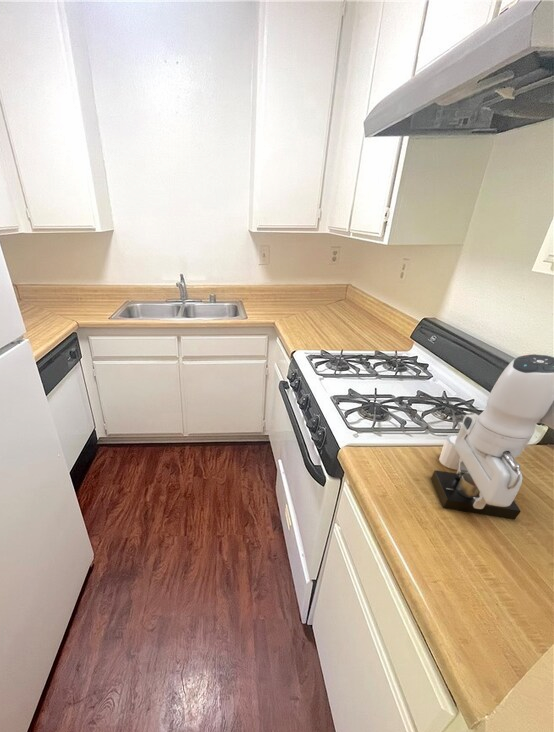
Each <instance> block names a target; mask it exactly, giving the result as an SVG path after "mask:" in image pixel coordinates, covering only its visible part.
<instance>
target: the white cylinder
mask: <svg viewBox="0 0 554 732" xmlns="http://www.w3.org/2000/svg"><path fill="white" fill-rule="evenodd" d="M457 435H458V433H457V434H456V433H451V434H447V436H445V440H444V443H443V445H442V449H441V452H440V455H439V459H438V461H439V462H440V464H441V465H443V466H444V467H446V468H448V469H451V470H456V471H458V469H459V459H460V456H459V454H458V452H457V450H456V449H455V441H456V438H457Z"/></svg>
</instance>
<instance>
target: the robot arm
mask: <svg viewBox="0 0 554 732" xmlns="http://www.w3.org/2000/svg"><path fill="white" fill-rule="evenodd" d="M494 383H495V384H494V385H493V387H492V389H491V391H490V392H489V395H488V396H487V401H486V405H485V408H484V410H483V411H481V412H480V414H479V415H478V414H465V415H464V417H463V419H462V425H461V427H460V429H459V430H458V433H457V434H458V435H457V438H456V441H455V449H456V450H457V452H458V454H459V456H460V459H459V469H458V470H456V472H455V473H456V474H457V476H458V478H460V479H461V478H462V476H463V474H466V473H470V475H471V477H472V479H473V480H474V482H475V484H476V486H477V487H478V489H479V491H480V494H479V495H480V497H479V498H478V497H474V498H473V501H471V503H472V505H473V507H474V508H476V509H483V508H484V506H485V505H486V504H489V505H493V506H499V507H507V506H510V505H511V504H512V502H513V500H514V501H515V499H516V496H517V494H518V492H519V490H520V488H521V486H522V483H523V474H522V472H521V469H522V468H521V465H520V464H519V463H518V462H517V461H516V459H517V458H519V457H520V456H521V455H522V453H523V452H524V450H525V448H526V447H527V446H528V444H529V442H530V440H531V439H532V437H533V436H534V434H535V430H536V426H537V424H543V425H545V426H547V427H548V428H550V429H551V430H553V431H554V356H552V355H546V354H534V353H533V354H524V355H520V356H517V357H515V358H514V359H512V361H510V362H509V363H508V365H507V366H506V367H505V368H504V370H503V371H502V372H501V374H500V375H499V377H498V379H497V380H496V382H494Z"/></svg>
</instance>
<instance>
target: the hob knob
mask: <svg viewBox="0 0 554 732" xmlns="http://www.w3.org/2000/svg"><path fill="white" fill-rule="evenodd" d="M456 490H457V492H458V493H459V494H460V495H462V496H464V497H466V498H469V499H473V498H474V497H478V498H479V496H480V495H479V494H480V491H479V489H478V487H477V486H476V484H475V482H474V480H473V479H472V477H471V475H470V473H466V474H463V476H462V478H461V480H460V481H459V483H458V485H457V487H456Z"/></svg>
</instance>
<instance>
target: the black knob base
mask: <svg viewBox="0 0 554 732" xmlns="http://www.w3.org/2000/svg"><path fill="white" fill-rule="evenodd" d="M456 473H457V472H450V471H443V470H436V469H434V471H433V473H432V475H431V477H430V480H431V483H432V485H433V488H434V490H435V493H436V495H437V498H438V500H439V502H440V505H441V507H442V509H446V510H451V511H456V512H457V511H458V512H463V513H468V514H469V513H470V514H476V515H483V516H488V517H494V518H500V519H508V520H512V521H514V520H515V521H516V518H518V516H519V515H520V513H521V512H522V510H521V509H520V507H519V506H518V504H517V503H516V501H515V499H514V500H513V502H512V504H511V505H510V506H507V507H499V506H493V505H489V504H486V505H485V506H484V508H483V509H476V508H474V507H473V505H472V503H471V501H473V499H469V498H466V497H464V496H462V495H460V494H459V493H458V492H457V490H456V487H457V485H458V483H459V481H460V480H461V479H460V478H458V476H457V474H456ZM479 497H480V496H479Z"/></svg>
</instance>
